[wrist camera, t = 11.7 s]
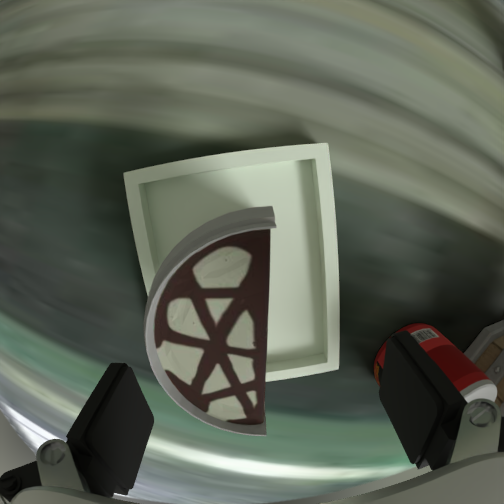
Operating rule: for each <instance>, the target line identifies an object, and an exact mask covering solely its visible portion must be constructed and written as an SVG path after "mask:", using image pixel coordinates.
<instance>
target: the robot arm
mask: <svg viewBox="0 0 504 504" xmlns="http://www.w3.org/2000/svg"><path fill="white" fill-rule="evenodd" d="M379 396H380V400H381V402H382V404H383V406H384V408H385V410H386V412H387V414H388V416H389V418H390V420H391V422H392V424H393V427H394V429H395V431H396V433H397V435H398V437H399V439H400V441H401V443H402V445H403V448H404V450H405V452H406V454H407V456H408V458H409V460H410V462H411V463H412V464H414V463H415V464H416V466H417V468H418V469H421V468H423V467H425V466H428V465H429V466H430V468H431V470H433V471H431V472H428V473H426V474H423V475H421V476H418V477H416V478H413V479H410V480H407V481H404V482H401V483H398V484H395V485H392V486H389V487H386V488H382V489H379V490H376V491H372V492H369V493H365V494H361V495H357V496H353V497H349V498H345V499H340V500H336V501H331V502H325V503H320V504H504V417H502V416H501V410H500V408H499V406H498V405H497V404H496V403H495V402H493V401H491V400H489V399H485V398H478V399H474V400H472V401H470V402H469V403H468V402H467V401H466V400H465V398H464V397H463V396H462V395H461V393H460V392H459V391H458V389H457V388H456V387H455V386H454V384H453V383H452V382H451V381H450V379H449V378H448V377H447V376H446V374H445V373H444V372H443V371H442V370H441V368H440V367H439V366H438V365H437V364H436V362H435V361H434V360H433V359H431V357H430V356H429V355H428V354H427V353H426V351H425V350H424V349H423V348H422V347H421V346H420V344H419V343H418V342H417V341H416V340H415V339H414V337H413V336H412V335H411V334H410V333H409V332H408V331H407V330H405V331H401V332H397V333H393V334H392V335H391V338H388V339H387V342H386V350H385V358H384V365H383V372H382V378H381V384H380V390H379ZM153 424H154V417H153V414H152V412H151V410H150V408H149V406H148V404H147V401H146V399H145V397H144V395H143V393H142V391H141V388H140V386H139V384H138V382H137V379H136V377H135V375H134V372H133V370H132V368H131V367H128V365H127V364H125V363H111V364H110V365H109V367H108V368H107V370H106V371H105V373H104V375H103V376H102V378H101V379H100V381H99V382H98V384H97V386H96V387H95V389H94V390H93V392H92V394H91V395H90V397H89V399H88V400H87V402H86V404H85V405H84V407H83V408H82V410H81V412H80V414H79V415H78V417H77V419H76V420H75V422H74V424H73V425H72V427H71V429H70V431H69V432H68V434H67V436H66V437H67V438H68V440H67V442H64V441H63V440H60V439H52V440H48V441H46V442H44V443H43V444H42V445H41V446H40V447H39V449H38V451H37V454H36V460H37V461H34V462H32V463H29V464H26V465H24V466H21V467H18V468H16V469H13V470H10V471H8V472H5V473H4V474H3V475H2V476H1V477H0V504H139V503H133V502H128V501H123V500H117V499H113V494H114V493H117V494H122V495H128V491H129V489H132V488H133V486H134V483H135V480H136V477H137V473H138V470H139V467H140V464H141V461H142V458H143V455H144V451H145V448H146V445H147V442H148V439H149V436H150V433H151V430H152V427H153Z"/></svg>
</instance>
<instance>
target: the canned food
mask: <svg viewBox="0 0 504 504" xmlns="http://www.w3.org/2000/svg"><path fill="white" fill-rule="evenodd" d="M405 330H407V331H408V332H409V333H410V334H411V335H412V336H413V337H414V339H415V340H416V341H417V342H418V343H419V344H420V346H421V347H422V348H423V349H424V350H425V351H426V353H427V354H428V355H429V356H430V357H431V359H433V360H434V361H435V362H436V364H437V365H438V366H439V367H440V368H441V370H442V371H443V372H444V373H445V374H446V376H447V377H448V378H449V379H450V381H451V382H452V383H453V384H454V386H455V387H456V388H457V389H458V391H459V392H460V393H461V395H462V396H463V397H464V398H465V400H466V401H467V402H468V403H469V402H470V401H472V400H474V399H478V398H485V399H489V400H491V401H493V402H495V399H496V396H497V388H496V386H495V385H494V383H493V382H492V381H491V380H490V379H489V378H488V377H487V376H486V375H485V373H484V372H483V371H481V370H480V369H479V368H478V367H477V366H476V365H475V364H474V363H473V362H472V361H471V360H470V359H469V358H468V357H467V356H466V355H464V354H463V353H462V352H461V351H460V350H459V349H458V348H457V347H456V346H455V345H454V344H452V343H451V342H450V341H449V340H448V339H447V338H446V337H445V336H444V335H442V334H441V333H440V332H439V331H438V330H437V329H436V328H434V327H432V326H430V325H427V324H423V323H415V324H411V325H408V326H406V327H403V328H402V329H400V330H398V331H397V332H401V331H405ZM397 332H395V333H397ZM390 338H391V337H390ZM386 342H387V341H386ZM386 342H385V343H384V344H383V346H382V347H381V348H380V350H379V352H378V354H377V356H376V358H375V362H374V374H375V379H376V381H377V383H378V385H379V386H380V384H381V378H382V372H383V365H384V358H385V350H386Z"/></svg>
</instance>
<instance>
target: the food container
mask: <svg viewBox="0 0 504 504" xmlns="http://www.w3.org/2000/svg"><path fill="white" fill-rule="evenodd" d="M276 227H277V226H276V224H275V214H274V210H273V207H272V206H264V207H251V208H247V209H242V210H238V211H234V212H230V213H227V214H224V215H222V216H220V217H217V218H215V219H212V220H210V221H208V222H206V223H205V224H203V225H201V226H200V227H198V228H197V229H195V230H193V231H192V232H190V233H189V234H188V235H187V236H186V237H185V238H183V239H182V240H181V241H180V242H179V243H178V244H177V245H176V246H175V247H174V248H173V249H172V250H171V252H170V253H169V254H168V255H167V257H166V258H165V259H164V261H163V262H162V264H161V266H160V268H159V269H158V271H157V273H156V275H155V277H154V279H153V282H152V286H151V289H150V292H149V296H148V300H147V304H146V308H145V317H144V338H145V345H146V349H147V354H148V357H149V361H150V364H151V367H152V370H153V372H154V374H155V376H156V378H157V380H158V382H159V383H160V384H161V386H162V387H163V389H164V390H165V391H166V393H167V394H168V395H169V396H170V397H171V398H172V399H173V400H174V401H175V402H176V403H177V404H178V405H179V406H180V407H181V408H182V409H184V410H185V411H186V412H188V413H189V414H190V415H192V416H194V417H195V418H197V419H199V420H201V421H202V422H204V423H206V424H209V425H211V426H214V427H216V428H219V429H222V430H225V431H229V432H233V433H238V434H245V435H253V436H266V418H265V401H264V399H265V380H266V361H267V338H268V310H269V285H270V241H271V228H276Z"/></svg>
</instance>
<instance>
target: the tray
mask: <svg viewBox="0 0 504 504" xmlns="http://www.w3.org/2000/svg"><path fill="white" fill-rule="evenodd" d="M123 174H124V181H125V188H126V194H127V201H128V207H129V212H130V218H131V223H132V229H133V234H134V239H135V243H136V248H137V253H138V257H139V262H140V266H141V271H142V275H143V279H144V283H145V287H146V291H147V295H148V296H149V292H150V289H151V286H152V282H153V279H154V277H155V275H156V273H157V271H158V269H159V268H160V266H161V264H162V262H163V261H164V259H165V258H166V257H167V255H168V254H169V253H170V252H171V250H172V249H173V248H174V247H175V246H176V245H177V244H178V243H179V242H180V241H181V240H182V239H183V238H185V237H186V236H187V235H188V234H189V233H190V232H192V231H193V230H195V229H197V228H198V227H200V226H201V225H203V224H205V223H206V222H208V221H210V220H212V219H215V218H217V217H220V216H222V215H224V214H227V213H230V212H234V211H238V210H242V209H247V208H251V207H264V206H272V207H273V210H274V214H275V224H276V226H277V227H276V228H271V241H270V285H269V310H268V338H267V361H266V380H265V382H267V381H275V380H282V379H288V378H294V377H300V376H306V375H312V374H317V373H322V372H327V371H332V370H337V369H339V339H340V305H339V267H338V246H337V230H336V216H335V204H334V193H333V183H332V173H331V164H330V156H329V148H328V143H318V144H304V145H292V146H281V147H271V148H262V149H254V150H245V151H238V152H231V153H224V154H217V155H211V156H204V157H198V158H193V159H187V160H182V161H176V162H171V163H166V164H161V165H156V166H151V167H147V168H142V169H138V170H133V171H129V172H125V173H123Z"/></svg>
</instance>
